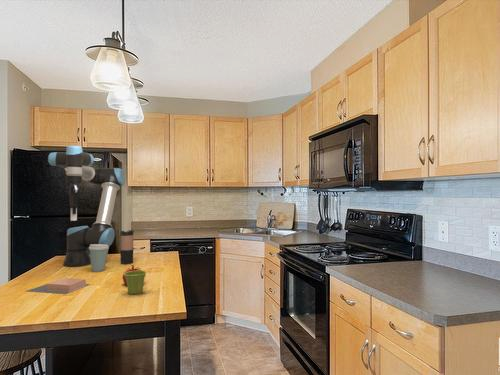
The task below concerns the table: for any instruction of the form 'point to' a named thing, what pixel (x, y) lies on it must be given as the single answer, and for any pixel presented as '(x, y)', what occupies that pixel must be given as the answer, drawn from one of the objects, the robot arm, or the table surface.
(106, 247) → the disposable coffee cup
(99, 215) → the robot arm
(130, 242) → the travel mug
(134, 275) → the plant pot
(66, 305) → the table surface
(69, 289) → the tile
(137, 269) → the pomegranate
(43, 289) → the mat
